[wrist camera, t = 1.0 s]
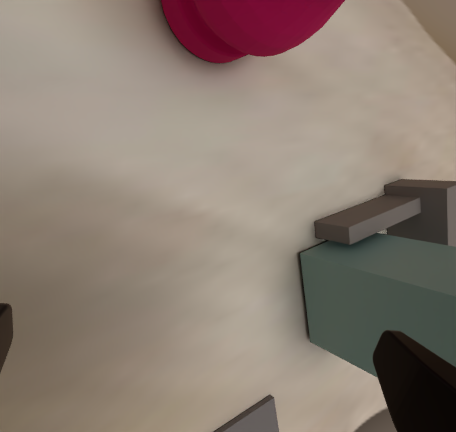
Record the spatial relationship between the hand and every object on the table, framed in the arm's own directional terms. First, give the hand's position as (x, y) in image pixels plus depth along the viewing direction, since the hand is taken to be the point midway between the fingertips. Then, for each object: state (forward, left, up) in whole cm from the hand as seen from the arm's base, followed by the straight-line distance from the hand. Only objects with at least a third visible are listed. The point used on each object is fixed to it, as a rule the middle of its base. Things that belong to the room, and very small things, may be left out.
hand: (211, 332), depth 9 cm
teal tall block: (+8, -17, -12) cm, 22 cm away
